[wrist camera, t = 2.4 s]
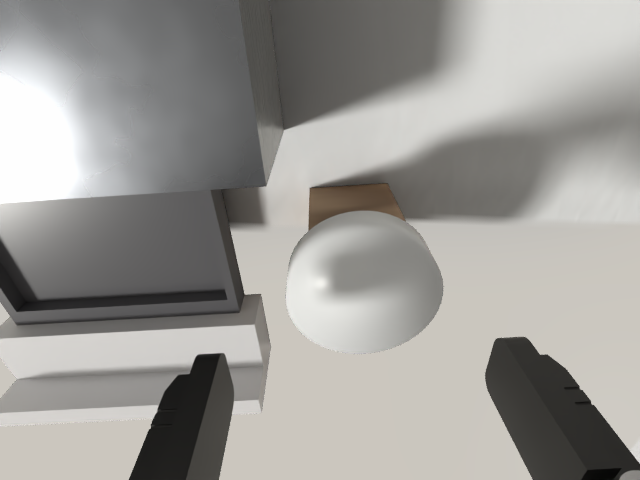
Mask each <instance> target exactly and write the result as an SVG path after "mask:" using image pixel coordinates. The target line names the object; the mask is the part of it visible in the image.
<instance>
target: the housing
mask: <svg viewBox="0 0 640 480" xmlns="http://www.w3.org/2000/svg"><path fill="white" fill-rule="evenodd" d="M283 131H284V127H283V118H282V109H281V100H280V91H279V83H278V74H277V65H276V56H275V47H274V38H273V29H272V20H271V11H270V3H269V0H0V203H10V202H26V201H42V200H58V199H73V198H89V197H105V196H121V195H137V194H152V193H168V192H184V191H200V190H216V189H231V188H247V187H263V186H267V182H268V179H269V176H270V173H271V170H272V167H273V163H274V160H275V157H276V154H277V151H278V147H279V144H280V141H281V138H282V135H283Z"/></svg>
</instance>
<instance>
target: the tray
mask: <svg viewBox="0 0 640 480" xmlns="http://www.w3.org/2000/svg"><path fill="white" fill-rule="evenodd" d="M0 302H1V304H2V305H3V307H4V308H5V309H6V311H7V312H8V314H9V315H10V317H9V318H8V319H7V320H6V321H5V322H4V323H3V324H2V325H1V326H0V359H1V360H2V361H3V362H4V364H5V365H6V366H7V368H8V369H9V370H10V371H11V373H12V374H13V375H14V377H15V378H16V379H17V380H16V381H15V382H14V383H13V384H12V386H11V387H10V388H9V389H8V390H7V391H6V393H5V394H4V395H3V396H2V397H1V398H0V426H18V425H38V424H58V423H78V422H98V421H118V420H137V419H154V416H155V414H156V413H157V409H158V406H159V404H160V401H161V399H162V396H163V394H164V391H165V390H166V389H167V387H168V386H169V385H170V384H171V383H172V382H173V380H174V379H175V378H176V377H177V376H178V375H181V374H190V371H191V368H192V365H193V362H194V360H195V357H196V356H197V355H198V354H213V353H224V354H225V356H226V359H227V363H228V367H229V371H230V375H231V378H232V382H233V386H234V405H233V411H232V415H235V414H254V413H255V414H257V413H262V407H263V400H264V393H265V385H266V379H267V370H268V364H269V357H270V350H271V345H270V340H269V334H268V329H267V324H266V319H265V314H264V308H263V303H262V297H261V294H251V295H244V290H243V286H242V281H241V277H240V272H239V268H238V264H237V259H236V254H235V249H234V245H233V240H232V237H231V231H230V227H229V222H228V218H227V213H226V209H225V204H224V200H223V195H222V191H221V189H216V190H200V191H184V192H168V193H152V194H137V195H121V196H105V197H89V198H73V199H58V200H42V201H26V202H10V203H0Z"/></svg>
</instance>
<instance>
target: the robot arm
mask: <svg viewBox="0 0 640 480" xmlns="http://www.w3.org/2000/svg"><path fill="white" fill-rule="evenodd" d="M485 379H486V385H487V389H488V392H489V394H490V396H491V398H492V400H493V402H494V404H495V406H496V408H497V410H498V412H499V414H500V416H501V418H502V420H503V422H504V424H505V426H506V427H507V430H508V432H509V434H510V436H511V437H512V440H513V441H514V443H515V445H516V447H517V449H518V451H519V453H520V455H521V457H522V459H523V461H524V463H525V465H526V467H527V469H528V471H529V473H530V475H531V477H532V479H533V480H640V464H639V462H638V461H637V460H636V459H635V457H634V456H633V455H632V453H631V452H630V451H629V450H628V448H627V447H626V446H625V444H624V443H623V442H622V441H621V439H620V438H619V437H618V435H617V434H616V433H615V432H614V430H613V429H612V428H611V427H610V425H609V424H608V423H607V421H606V420H605V419H604V418H603V416H602V415H601V413H600V412H599V411H598V410H597V408H596V407H595V406H594V405H592V404H591V401H590V399H589V398H588V397H587V395H586V394H585V393H584V392H583V390H580V388H579V385H578V384H577V383H576V382H575V380H574V379H573V377H572V376H571V375H570V374H569V372H568V371H567V370H566V369H565V368H564V367H563V366H561V365H560V364H559V363H558V362H556V361H555V360H553V359H552V358H551V357H550V356H548V355H540V354H539V353H538V352H537V350H536V349H535V347H534V346H533V345H532V343H531V342H530V341H529V340H528V339H527V338H525V337H512V338H511V337H510V338H497V339H496V340H495V342H494V345H493V348H492V352H491V355H490V358H489V362H488V365H487V369H486V373H485ZM233 405H234V386H233V382H232V378H231V375H230V371H229V367H228V363H227V359H226V356H225V354H224V353H213V354H198V355H197V356H196V357H195V360H194V362H193V365H192V368H191V371H190V374H181V375H178V376H177V377H176V378H175V379H174V380H173V382H172V383H171V384H170V385H169V386H168V387H167V389H166V390H165V391H164V394H163V396H162V399H161V401H160V404H159V406H158V409H157V413H156V414H155V416H154V419H153V421H152V424H151V429H149V431H148V434H147V436H146V439H145V441H144V443H143V446H142V448H141V451H140V453H139V456H138V458H137V461H136V464H135V466H134V468H133V471H132V473H131V476H130V478H129V480H219V476H220V471H221V466H222V460H223V456H224V451H225V445H226V441H227V436H228V431H229V426H230V421H231V416H232V411H233Z"/></svg>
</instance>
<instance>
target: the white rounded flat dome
mask: <svg viewBox="0 0 640 480" xmlns="http://www.w3.org/2000/svg"><path fill="white" fill-rule="evenodd" d="M442 296H443V279H442V276H441V273H440V270H439V268H438V266H437V263H436V262H435V260H434V258H433V256H432V254H431V252H430V250H429V248H428V246H427V245H426V243H425V241H424V239H423V238H422V236H421V235H420V234H419V233H418V232H417V231H416V230H415V229H414V228H413V227H412V226H411V225H409V224H408V223H407V222H405V221H403V220H402V219H400V218H398V217H395V216H393V215H390V214H386V213H382V212H377V211H352V212H346V213H342V214H338V215H336V216H333V217H330V218H328V219H326V220H324V221H322V222H320V223H319V224H317V225H316V226H314V227H313V228H311V229H310V230H309V231H308V232H307V233H306V234H305V235H304V236H303V237H302V238H301V239H300V241H299V242H298V244H297V245H296V247H295V248H294V251H293V253H292V255H291V258H290V262H289V268H288V278H287V286H286V295H285V298H286V307H287V311H288V314H289V316H290V318H291V320H292V322H293V323H294V325H295V327H297V329H298V330H299V331H300V332H301V333H302V334H303V335H304V336H305V337H306V338H308V339H309V340H311V341H312V342H314V343H316V344H318V345H319V346H322V347H324V348H327V349H330V350H333V351H337V352H342V353H351V354H366V353H375V352H380V351H384V350H388V349H391V348H393V347H396V346H399V345H401V344H403V343H405V342H407V341H409V340H410V339H412V338H413V337H415V336H416V335H417V334H419V333H420V332H421V331H422V330H423V329H424V328H425V327H426V326H427V325H428V324H429V323H430V322H431V321H432V319H433V318H434V316H435V315H436V313H437V311H438V309H439V306H440V304H441V300H442Z"/></svg>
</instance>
